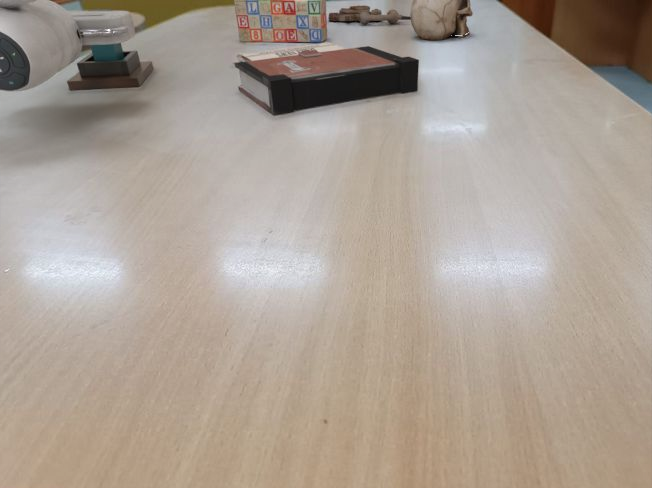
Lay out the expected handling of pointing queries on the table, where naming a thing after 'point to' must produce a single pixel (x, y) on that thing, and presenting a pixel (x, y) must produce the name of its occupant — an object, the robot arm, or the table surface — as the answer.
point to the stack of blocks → (281, 20)
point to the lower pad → (110, 72)
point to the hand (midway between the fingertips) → (75, 20)
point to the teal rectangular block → (107, 50)
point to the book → (326, 78)
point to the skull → (440, 18)
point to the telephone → (366, 15)
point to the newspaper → (286, 51)
